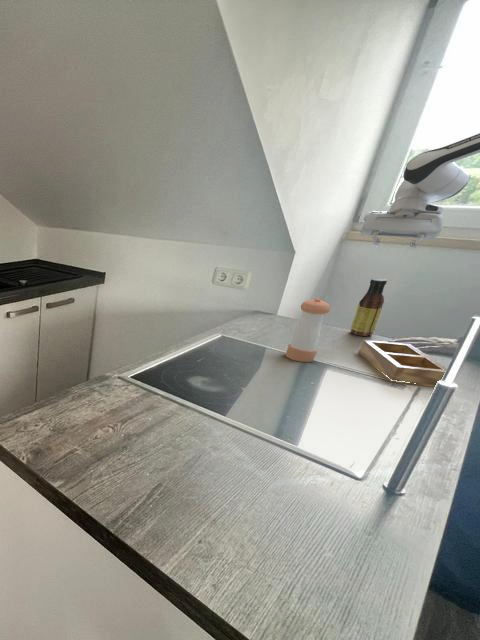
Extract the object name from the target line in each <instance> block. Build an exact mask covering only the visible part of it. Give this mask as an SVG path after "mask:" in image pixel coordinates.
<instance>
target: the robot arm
mask: <svg viewBox="0 0 480 640" xmlns="http://www.w3.org/2000/svg"><path fill="white" fill-rule="evenodd" d="M479 154H480V132H479V133H477V134H474V135H472V136H469V137H465V138H463V139H461V140H458V141H455V142H453V143H451V144H448V145H445V146H441V147H439V148H434V149H430V150H426V151H424V152H422V153H420V154H419V153H418V154H417V155H415V156H414V157H412V159H410V160H409V161H408V162H407V163H406V165H405V167H404V170H403V174H402V179H401V181H400V182H399V183H398V185H397V187H396V189H395V192H394V194H393V201H392V203H391V204H390V207H389V209H388V211H374V210H373V211H371V212H367V213H366V214H365V215H364V217H363V221H364V223H363V224H362V227H361V229H360V234H361V235H364V236H371V239H372V241H373V243H372V245H374V246H375V245H376V246H379V245H380V242H381V240H382V238H381V237H394V238H408V239H409V238H410V239H412V240H411V242H410V244H409V248H416V247H417V246H418V244H419V243H420V242H422V241H423V239H425V240H426V239H427V240H435V239H437V238H438V237H439V236H440V234H441V233H442V230H443V227H444V217H443V215H442V213H443V210H444V208H443V207H442V206H438V205H433V203H437V202H441V201H444V200H448V199H451V198H453V197H456V196H457V195H458V194H460V193H461V192H462V191H463V190H464V189H465V188H466V187H467V186H468V184H469V182H470V179H471V176H470V174H469V173H468V172H467V171H465V170H464V169H463V168H462V167H460V166H459V165H458V164H456V163H455V162H458V161H461V160H463V159H466V158H470V157H472V156H476V155H479ZM413 239H415V240H413Z"/></svg>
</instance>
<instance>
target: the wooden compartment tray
mask: <svg viewBox="0 0 480 640" xmlns="http://www.w3.org/2000/svg"><path fill="white" fill-rule="evenodd" d="M358 355H360V356H361V357H362V358H363V359H364V360H366V362H368V363H369V364H370V365H371V366H372V367H374V368H375V369H376V370H377V371H378V372H379V373H380V374H381V375H383V376H384V377H385V378H386V379H387V381H389V382H390V383H397V384H403V385H405V384H406V385H413V386H423V387H431V388H436V387H435V385H436V383H437V381H439V380H441V379H442V377H443V375H444V373H445V371H446V370H447V368H448V367H446V366H444V365H443V364H441V363H440V362H439V361H437V360H435V359H434V358H432V357H431V356H429V355H428V354H427V353H425V352H423V351H421V350H420V349H419V348H417V347H415V346H414V345H412V344H411V343H404V342H392V341H380V340H379V341H378V340H371V339H370V340H369V339H363V340H362V343H361V346H360V347H359V351H358ZM378 369H379V370H378ZM382 372H383V373H384V374H385V375H387V376H388V377H389V378H390V379H392V380H397V381H405V382H410V383H405V382H396V381H391V380H390V379H389V378H388V377H386V376H385V375H384V374H383V373H382ZM414 383H416V384H414Z"/></svg>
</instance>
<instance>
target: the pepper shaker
mask: <svg viewBox="0 0 480 640" xmlns="http://www.w3.org/2000/svg"><path fill="white" fill-rule="evenodd" d="M300 311H302V312H301V315H300V318H299V321H298V324H297V325H296V328H295V330H294V332H293V333H292V337H291V340H290V343H289V344H288V346H287V349H286V352H285V357H287V358H288V359H290V360H292V361H297V362H300V363H301V362H302V363H312V362H314V360H315V358H316V356H317V355H316V354H317V351H318V348H317V347H318V344H319V342H320V336H321V328H322V325H323V321H324V319H325V315H326V314H328V313H329V312H330V311H331V305H330V303H328V302H326V301H323V300H322V299H321V298H319V297H316V298H314V299H308V300H305V301H302V303H301V305H300Z"/></svg>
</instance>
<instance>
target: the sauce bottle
mask: <svg viewBox="0 0 480 640" xmlns="http://www.w3.org/2000/svg"><path fill="white" fill-rule="evenodd" d="M369 281H370V282H369V286H368V289H367V291H366V293H365V294H364V296H363V297H362V298H361V299H360V300H359V302H358V305H357V308H356V311H355V315H354V318H353V320H352V324H351V327H350V333H351V334H353V335H356V336H360V337H369V336H368V335H371V336H373V334H374V332H375V330H376V327H377V324H378V321H379V318H380V315H381V312H382V309H383V307H384V302H385V297H384V294H383V292H384V289H385V286H386V284H387V282H388V280H387V279H385V278H377V277H376V278H375V277H373V278H371V279H370V280H369Z"/></svg>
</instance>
